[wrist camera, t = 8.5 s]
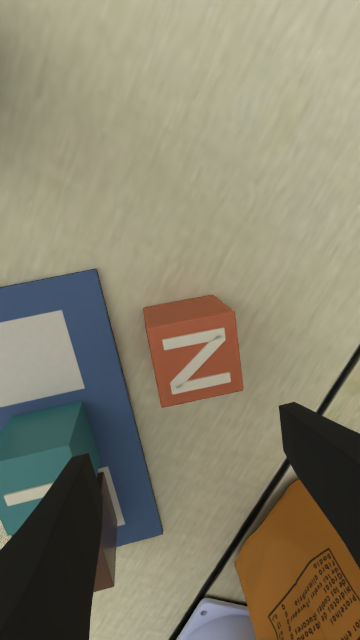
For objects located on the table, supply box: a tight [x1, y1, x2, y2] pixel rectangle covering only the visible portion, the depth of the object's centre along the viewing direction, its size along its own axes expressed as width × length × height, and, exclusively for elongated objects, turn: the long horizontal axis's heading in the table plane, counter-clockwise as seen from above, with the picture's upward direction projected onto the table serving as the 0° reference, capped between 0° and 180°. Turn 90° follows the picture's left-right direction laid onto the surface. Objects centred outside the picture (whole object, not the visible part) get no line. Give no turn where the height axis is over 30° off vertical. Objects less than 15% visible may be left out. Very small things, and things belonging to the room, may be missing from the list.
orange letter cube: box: [143, 295, 243, 408], centre depth 16 cm, size 4×4×4 cm
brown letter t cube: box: [93, 472, 118, 592], centre depth 18 cm, size 4×4×4 cm
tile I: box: [0, 401, 100, 535], centre depth 17 cm, size 4×4×4 cm
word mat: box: [0, 269, 163, 547], centre depth 19 cm, size 18×9×1 cm, turn 11°
